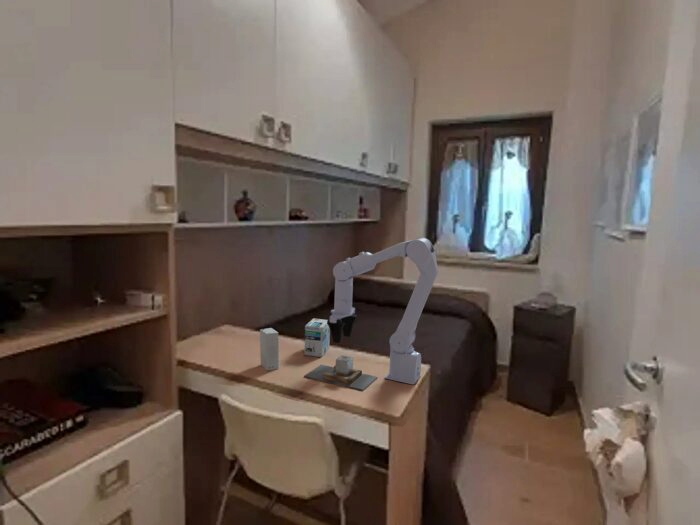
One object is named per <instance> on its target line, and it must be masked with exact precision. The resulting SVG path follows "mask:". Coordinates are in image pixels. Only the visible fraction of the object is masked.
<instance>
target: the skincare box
mask: <svg viewBox="0 0 700 525" xmlns="http://www.w3.org/2000/svg"><path fill="white" fill-rule="evenodd" d="M279 343H280V342H279V332H278V331H276V330H275V329H274V328H272V327H269V328H268V327H267V328H261V329H259V347H260V348H259V350H260V352H259V353H260V355H259V356H260V366H262V367H263V369H265V370H266V371H273V370H279V366H280V364H279V363H280V360H279V359H280V356H279V352H280V351H279V349H280V348H279V347H280V346H279Z"/></svg>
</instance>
